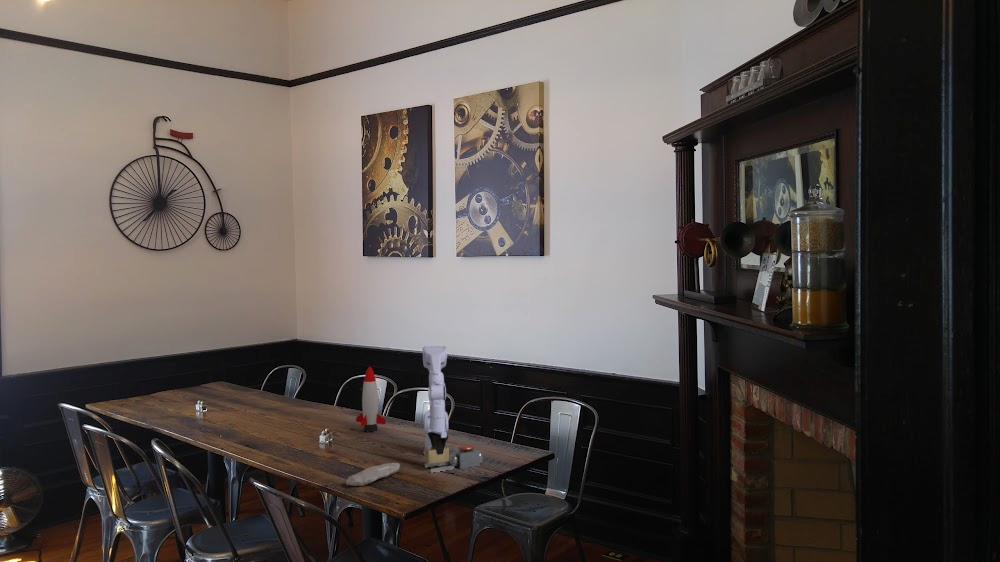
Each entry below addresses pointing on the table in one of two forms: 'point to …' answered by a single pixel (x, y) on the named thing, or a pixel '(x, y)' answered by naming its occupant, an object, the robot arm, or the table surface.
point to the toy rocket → (370, 404)
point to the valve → (460, 458)
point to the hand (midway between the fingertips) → (437, 452)
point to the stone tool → (372, 474)
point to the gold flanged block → (436, 455)
